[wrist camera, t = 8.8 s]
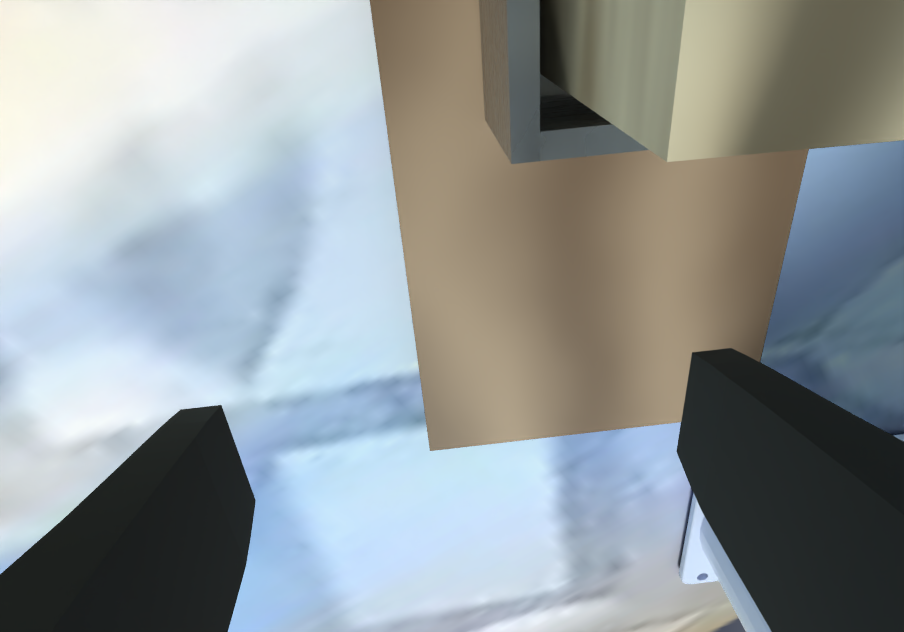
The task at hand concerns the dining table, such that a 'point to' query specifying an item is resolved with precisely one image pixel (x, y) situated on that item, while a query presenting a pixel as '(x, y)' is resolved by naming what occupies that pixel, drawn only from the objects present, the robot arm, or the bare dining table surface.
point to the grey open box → (535, 94)
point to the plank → (562, 254)
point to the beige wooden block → (732, 71)
